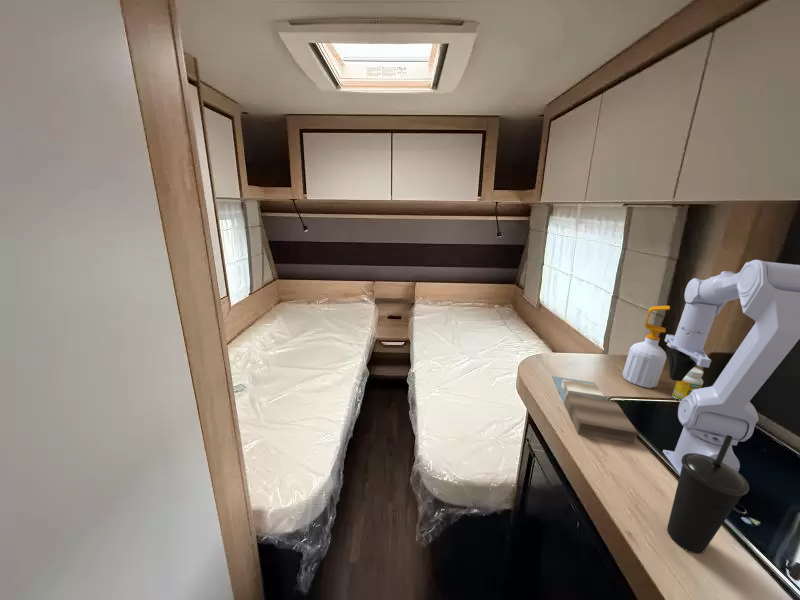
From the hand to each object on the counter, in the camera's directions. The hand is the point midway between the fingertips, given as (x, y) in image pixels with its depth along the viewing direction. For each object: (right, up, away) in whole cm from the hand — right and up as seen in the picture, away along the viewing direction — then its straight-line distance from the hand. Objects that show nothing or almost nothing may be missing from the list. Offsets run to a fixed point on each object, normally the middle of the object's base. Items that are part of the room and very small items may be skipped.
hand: (675, 379), depth 85 cm
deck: (-21, -10, -2) cm, 23 cm away
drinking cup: (-23, -19, -30) cm, 42 cm away
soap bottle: (+5, -5, +20) cm, 21 cm away
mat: (-18, -6, +11) cm, 22 cm away
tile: (-18, -4, +9) cm, 21 cm away
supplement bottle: (+11, -8, +11) cm, 18 cm away
